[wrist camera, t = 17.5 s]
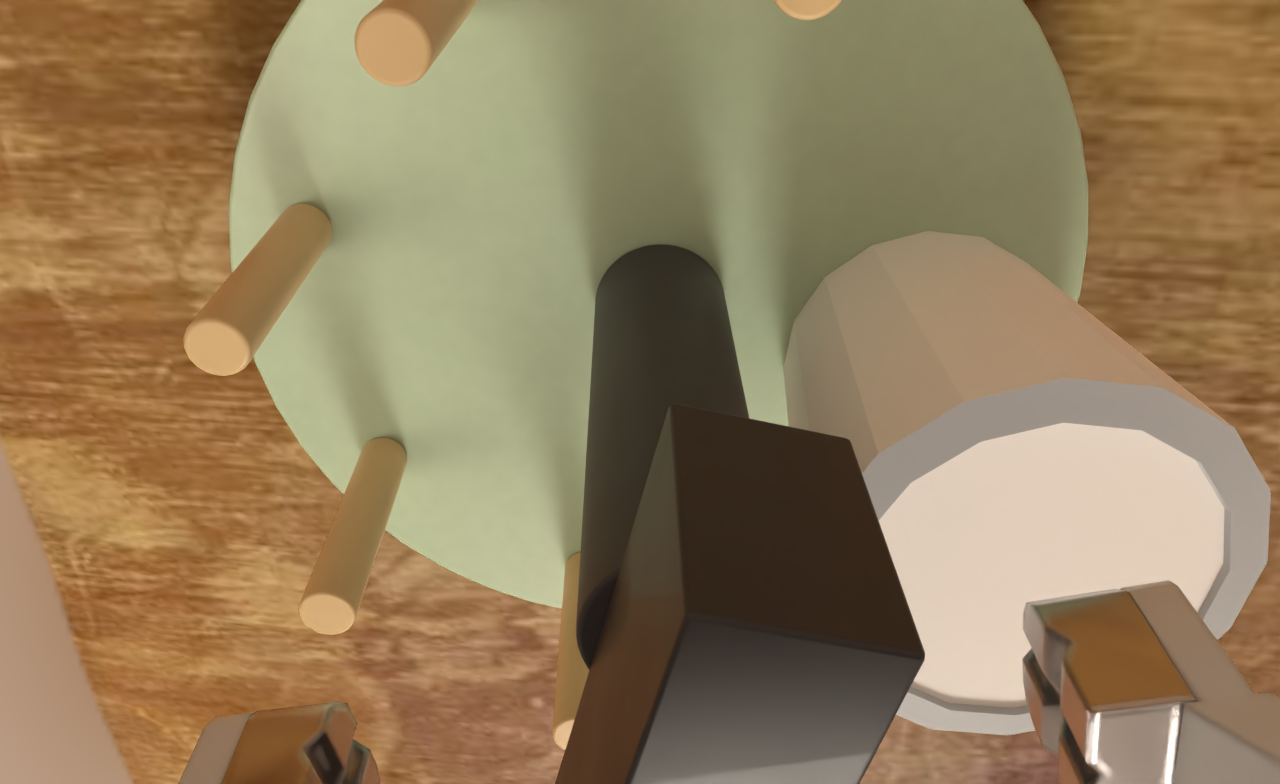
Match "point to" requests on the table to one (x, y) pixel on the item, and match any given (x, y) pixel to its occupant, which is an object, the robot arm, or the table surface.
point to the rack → (626, 327)
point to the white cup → (1015, 459)
